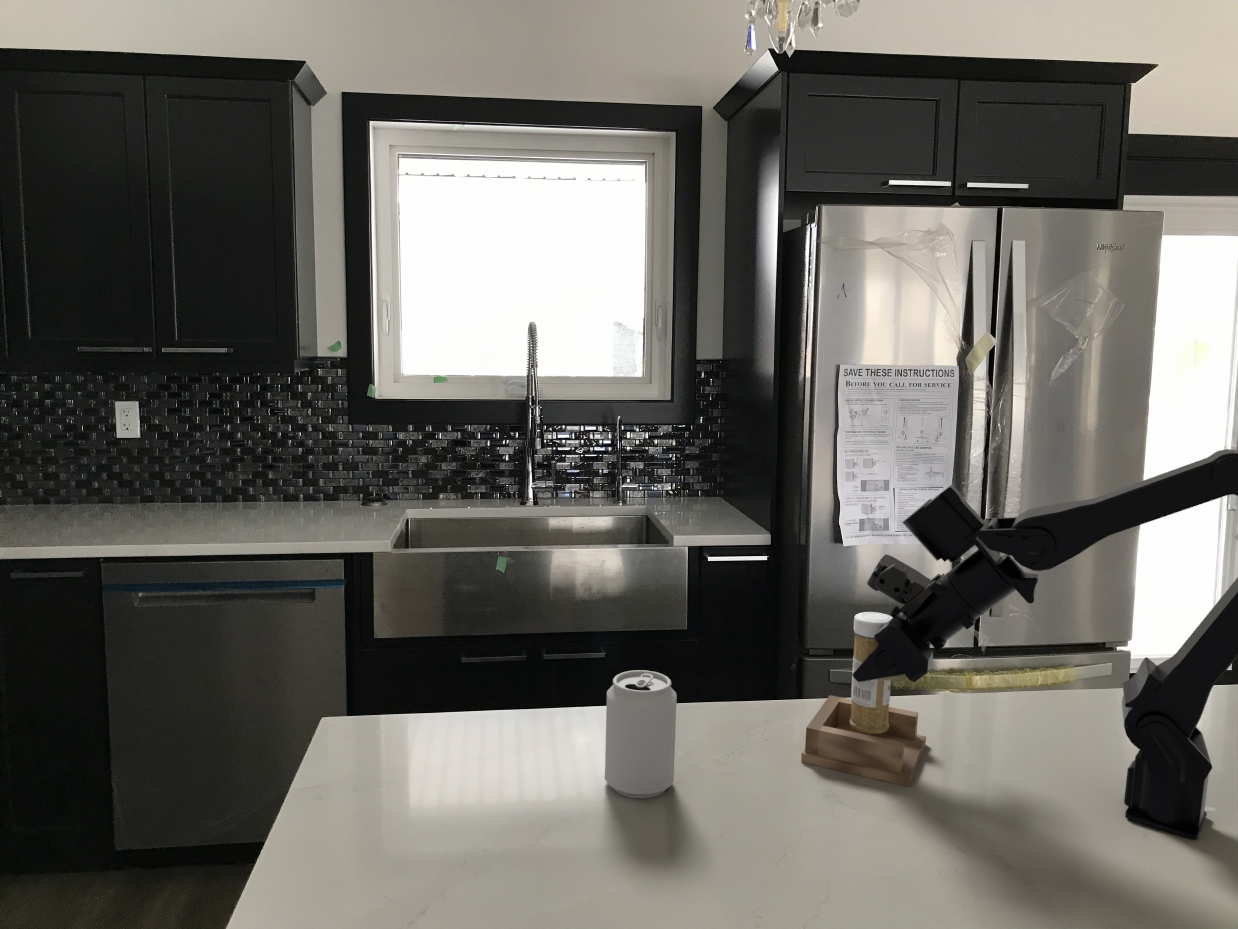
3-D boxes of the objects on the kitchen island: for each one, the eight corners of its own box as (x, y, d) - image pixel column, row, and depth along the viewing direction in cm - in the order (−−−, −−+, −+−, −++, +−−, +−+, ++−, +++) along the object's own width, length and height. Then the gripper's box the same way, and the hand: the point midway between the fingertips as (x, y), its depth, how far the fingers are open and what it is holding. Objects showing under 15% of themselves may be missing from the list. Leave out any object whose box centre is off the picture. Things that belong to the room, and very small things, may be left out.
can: (591, 791, 100) (594, 683, 98) (624, 763, 106) (626, 661, 105) (655, 809, 96) (658, 697, 95) (684, 779, 103) (688, 674, 101)
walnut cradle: (925, 744, 113) (928, 712, 112) (908, 786, 102) (911, 752, 102) (826, 723, 118) (828, 693, 118) (801, 761, 108) (802, 728, 107)
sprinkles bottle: (897, 732, 109) (903, 619, 107) (865, 738, 107) (871, 624, 105) (871, 717, 113) (877, 608, 111) (840, 722, 111) (846, 612, 109)
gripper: (927, 522, 113) (832, 598, 119) (900, 553, 97) (791, 640, 103) (993, 594, 111) (892, 668, 117) (976, 639, 94) (860, 722, 101)
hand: (859, 671), depth 109 cm, fingers closed on sprinkles bottle, 4 cm apart
